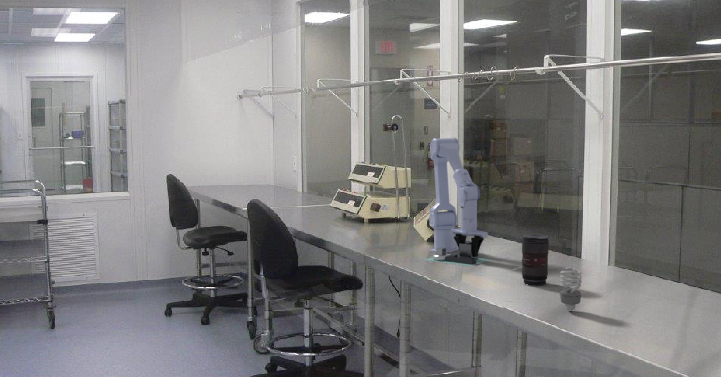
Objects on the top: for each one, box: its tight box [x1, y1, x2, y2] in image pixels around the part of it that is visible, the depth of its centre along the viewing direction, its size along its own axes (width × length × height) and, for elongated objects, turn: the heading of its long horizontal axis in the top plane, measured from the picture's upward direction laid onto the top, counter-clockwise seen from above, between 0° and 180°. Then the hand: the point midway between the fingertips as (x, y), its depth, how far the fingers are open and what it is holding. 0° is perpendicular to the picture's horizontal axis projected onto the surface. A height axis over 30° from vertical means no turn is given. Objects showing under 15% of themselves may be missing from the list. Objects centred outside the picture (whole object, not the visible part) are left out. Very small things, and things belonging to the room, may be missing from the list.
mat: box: [423, 253, 491, 268], centre depth 273 cm, size 15×20×1 cm
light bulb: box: [559, 266, 583, 311], centre depth 201 cm, size 6×6×12 cm
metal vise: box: [432, 247, 477, 265], centre depth 270 cm, size 17×6×4 cm, turn 49°
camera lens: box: [521, 234, 550, 287], centre depth 233 cm, size 8×8×15 cm
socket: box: [458, 240, 479, 260], centre depth 273 cm, size 5×5×7 cm
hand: (468, 255), depth 273 cm, fingers closed on socket, 5 cm apart
